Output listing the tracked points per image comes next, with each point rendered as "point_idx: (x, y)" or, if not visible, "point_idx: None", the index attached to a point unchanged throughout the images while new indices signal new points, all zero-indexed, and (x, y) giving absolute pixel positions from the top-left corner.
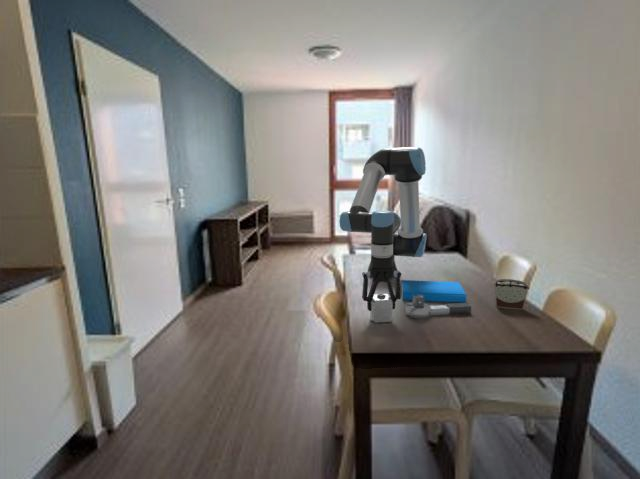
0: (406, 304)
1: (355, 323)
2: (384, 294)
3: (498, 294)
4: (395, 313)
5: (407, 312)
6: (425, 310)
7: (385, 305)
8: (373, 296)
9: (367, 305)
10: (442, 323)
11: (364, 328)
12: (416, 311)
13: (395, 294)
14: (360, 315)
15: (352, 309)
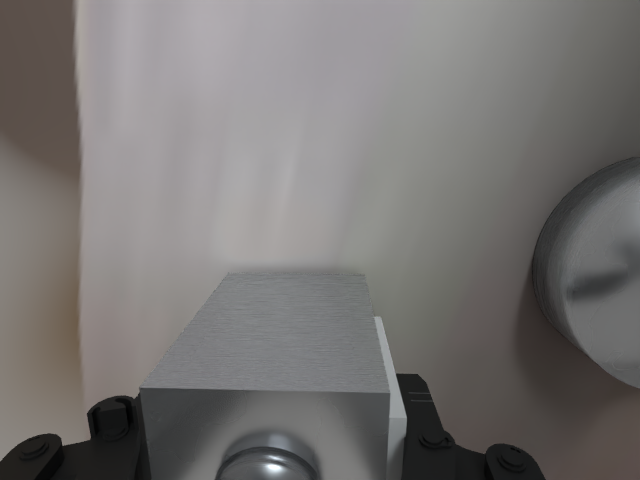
0: (611, 212)
1: (103, 363)
2: (338, 413)
3: None
4: (456, 218)
5: (549, 294)
6: None
7: None
8: (165, 459)
9: (137, 401)
10: None
11: None
12: (618, 377)
13: (492, 475)
14: (152, 223)
15: (89, 70)
